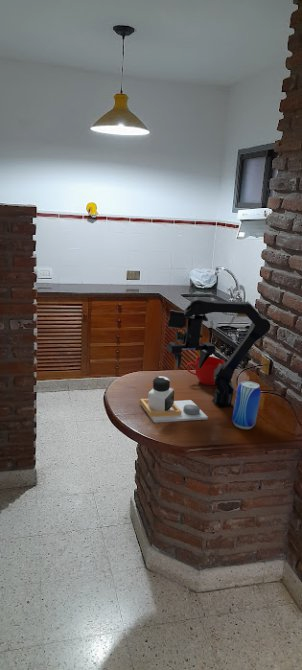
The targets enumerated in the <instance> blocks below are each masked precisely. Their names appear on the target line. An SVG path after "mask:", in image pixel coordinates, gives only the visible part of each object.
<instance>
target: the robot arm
mask: <svg viewBox="0 0 302 670" xmlns="http://www.w3.org/2000/svg"><path fill="white" fill-rule="evenodd" d="M169 311H170V312H169V316H168V320H167V321H168V322H167V328H168V329H179V330H182V329H184V328H186V330H184V333H182V332H181V331H175V335H174V340H175V341H177V342H174V341H173V342H172V341H169V342H168V343H167V344H166V350H168V352H170V353H171V354H172V355H173V358H174V362H175V365H176V369H177V370H179V369H180V368H181V361H182V358H183V357H182V356H183V354H182V351H199V357H200V358H199V364H198V368H199V369H200V368H201V367H202V365H203V364H204V362H205V361H206V360H207V359H208V357H209V356H210V357H211V356H213V354H216V352H217V347H216V345H215V344H213V343H212V342H209V341H208V342H207V341H205V342H201V338H203V334H202V330H203V323H204V322H208V321H209V318H208V316H206V315H207V314H213V313H223V314H224V313H225V314H244V315H246V317H247V318H248V319H249V320H250V321H251V323H250V325H249V328H248V331H247V334H246V335H245V336H244V337H243V339H242V340H241V342H240V343H239V344H238V346H237V347H236V349H235V350H234V351H233V352H232V354H231V355H230V357H229V358H228V359H227V361H225V364H223V365H222V364H221V363H219V365H218V367H217V368H216V369H215V370H214V381H215V384H214V385H215V386H216V388H215V391H214V393H213V399H211V401H212V402H213V403H214V404H215V405H216V406H217V408H218V407H219V408H225V407H226V408H229V407H230V408H231V407H234V404H233V403H232V402H233V395H234V391H235V388H234V384H233V382H232V379H233V376H234V374H235V370H236V369H237V368H238V366H239V365H240V363H242V361H243V360H244V358H245V357H246V355H247V354H248V353H249V352H250V351H251V349H252V347H253V346H254V345H255V344H256V342H257V341H259V340H260V339H261V338H263V337H264V336H265V335H266V334H267V333H268V332H270V329H271V326H272V325H271V323H270V321H269V319H268V317H266V316H265V315H263V314H260V313H259V312H258V311H257V310H256V309H255V308H254V306H253V305H252V304H251V302H248V301H244V302H243V301H222V300H221V301H219V300H211V299H208V298H204V297H199V296H196V297H193V298H192V299H191V300H190V302H189V305H188V306H187V307H185V309H183V311H181V310H176V309H170V310H169ZM186 325H187V326H186ZM178 342H179V343H182V344H179V343H178Z"/></svg>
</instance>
